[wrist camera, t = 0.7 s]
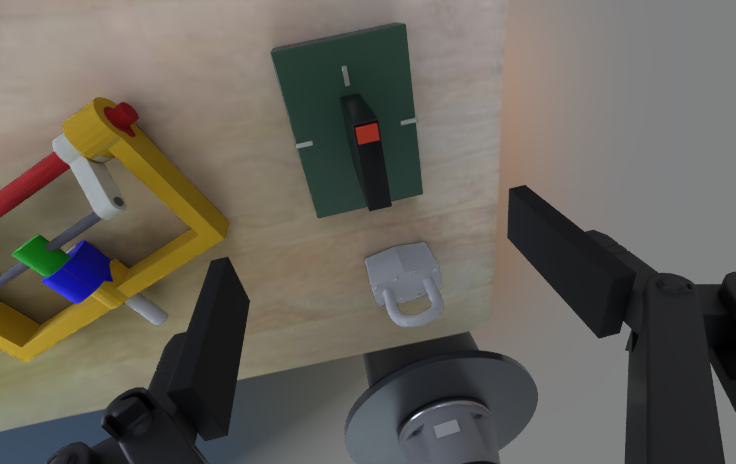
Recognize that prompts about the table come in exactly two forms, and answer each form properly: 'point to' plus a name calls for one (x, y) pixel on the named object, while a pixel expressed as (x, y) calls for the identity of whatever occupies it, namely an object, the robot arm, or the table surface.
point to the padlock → (406, 281)
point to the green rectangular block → (325, 117)
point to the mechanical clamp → (82, 261)
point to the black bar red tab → (366, 151)
